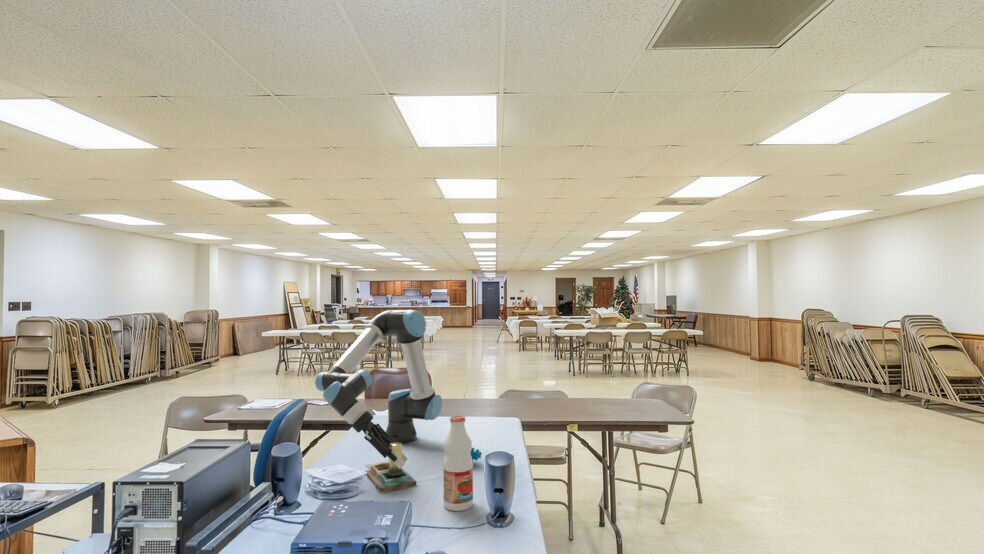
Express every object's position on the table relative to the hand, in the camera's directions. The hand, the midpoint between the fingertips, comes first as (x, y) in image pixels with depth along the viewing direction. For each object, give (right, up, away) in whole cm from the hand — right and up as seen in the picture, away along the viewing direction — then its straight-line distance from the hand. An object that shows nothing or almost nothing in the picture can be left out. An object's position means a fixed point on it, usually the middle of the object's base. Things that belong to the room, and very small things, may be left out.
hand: (404, 463), depth 171 cm
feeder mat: (-13, -8, +18) cm, 23 cm away
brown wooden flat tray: (-6, -8, +4) cm, 11 cm away
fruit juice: (+21, -6, -18) cm, 29 cm away
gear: (+22, -8, +20) cm, 31 cm away
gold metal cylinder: (-3, -4, 0) cm, 5 cm away
